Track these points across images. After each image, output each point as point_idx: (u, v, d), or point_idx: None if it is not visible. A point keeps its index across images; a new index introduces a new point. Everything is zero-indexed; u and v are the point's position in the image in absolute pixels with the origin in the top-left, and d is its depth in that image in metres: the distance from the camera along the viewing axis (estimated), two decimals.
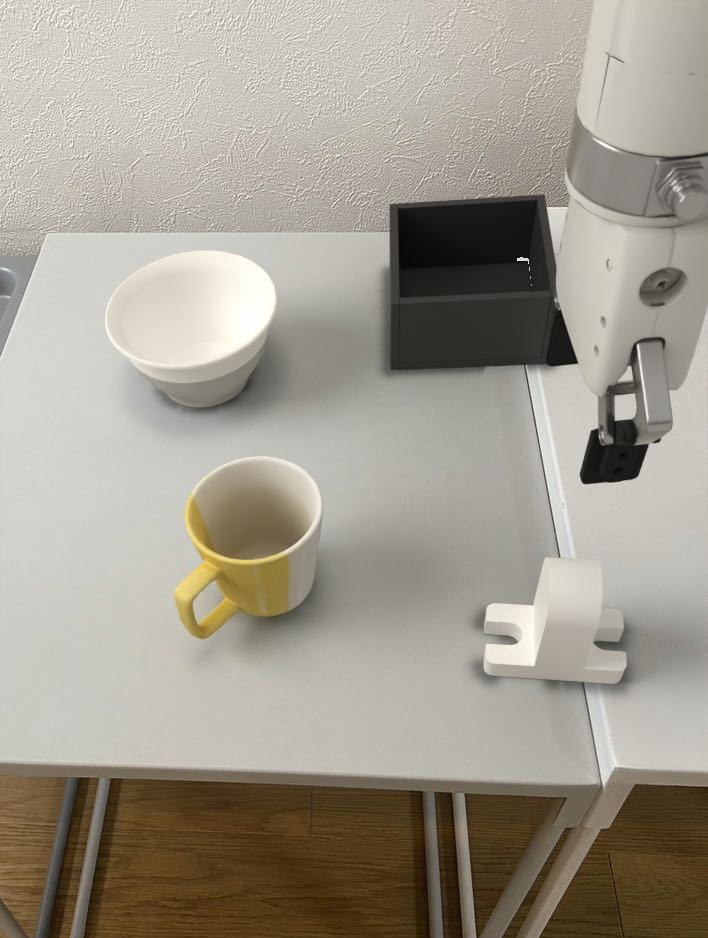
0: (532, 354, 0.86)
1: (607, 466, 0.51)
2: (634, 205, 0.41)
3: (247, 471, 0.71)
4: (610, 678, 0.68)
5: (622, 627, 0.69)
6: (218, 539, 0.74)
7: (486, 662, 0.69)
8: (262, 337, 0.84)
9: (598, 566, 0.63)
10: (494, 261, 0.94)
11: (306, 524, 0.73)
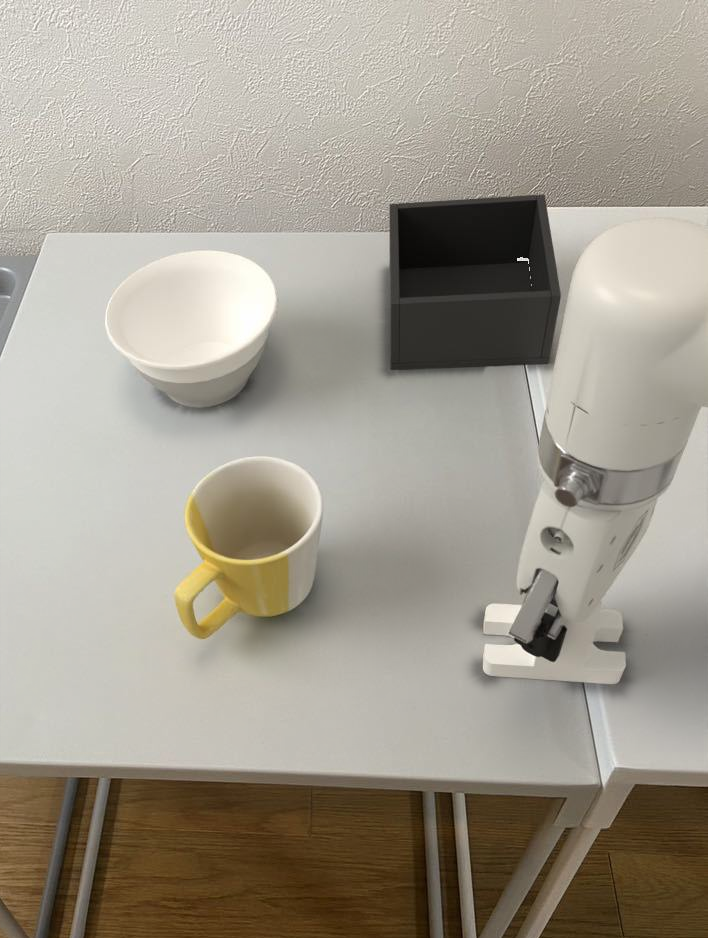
0: (532, 354, 0.86)
1: None
2: (551, 473, 0.51)
3: (247, 471, 0.71)
4: (609, 678, 0.68)
5: (621, 627, 0.69)
6: (218, 539, 0.74)
7: (485, 662, 0.69)
8: (262, 337, 0.84)
9: None
10: (494, 261, 0.94)
11: (306, 524, 0.73)
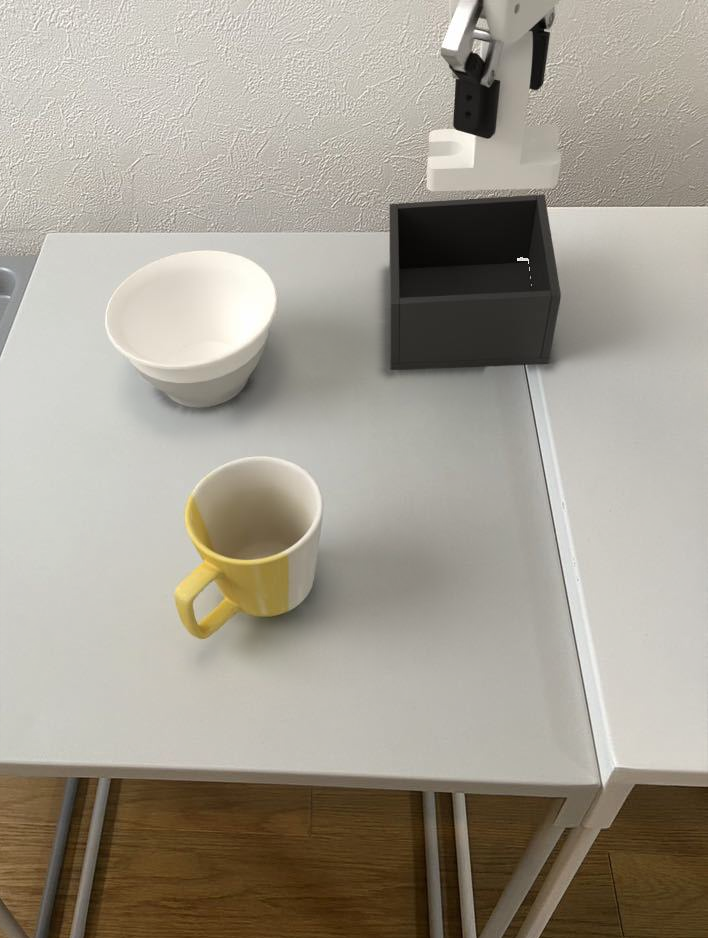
0: (532, 354, 0.86)
1: (460, 106, 0.66)
2: None
3: (247, 471, 0.71)
4: (546, 178, 0.71)
5: (558, 135, 0.71)
6: (218, 539, 0.74)
7: (428, 173, 0.72)
8: (262, 337, 0.84)
9: (529, 31, 0.65)
10: (494, 261, 0.94)
11: (306, 524, 0.73)
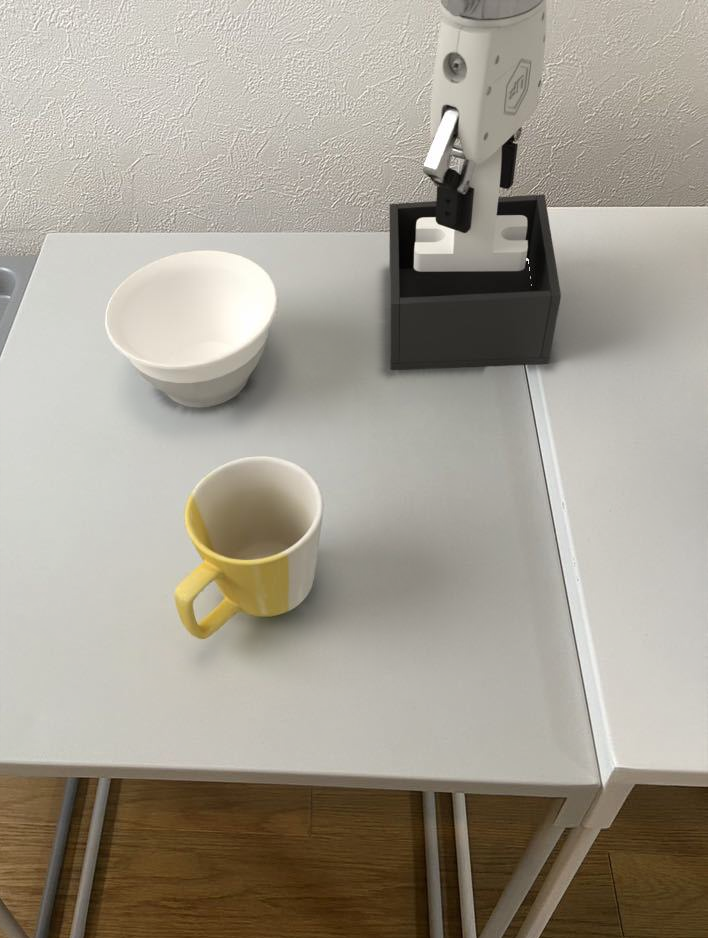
0: (532, 354, 0.86)
1: (441, 207, 0.78)
2: (448, 3, 0.67)
3: (247, 471, 0.71)
4: (515, 263, 0.83)
5: (526, 225, 0.84)
6: (218, 539, 0.74)
7: (414, 256, 0.84)
8: (262, 337, 0.84)
9: None
10: None
11: (306, 524, 0.73)
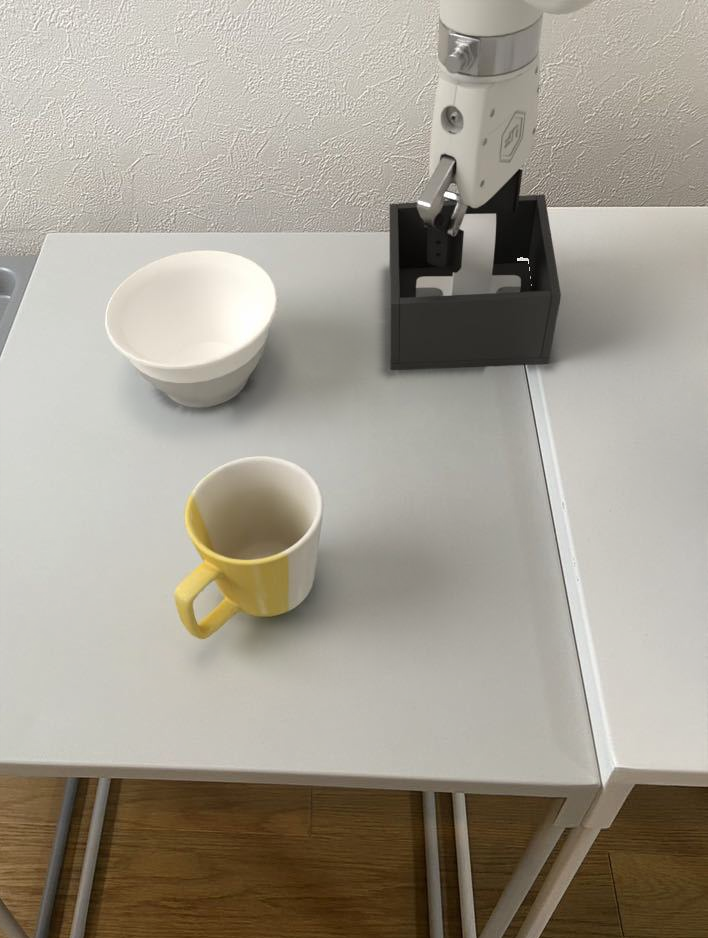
0: (532, 354, 0.86)
1: (432, 248, 0.80)
2: (445, 59, 0.70)
3: (247, 471, 0.71)
4: None
5: (519, 285, 0.89)
6: (218, 539, 0.74)
7: None
8: (262, 337, 0.84)
9: (493, 214, 0.83)
10: (494, 261, 0.94)
11: (306, 524, 0.73)
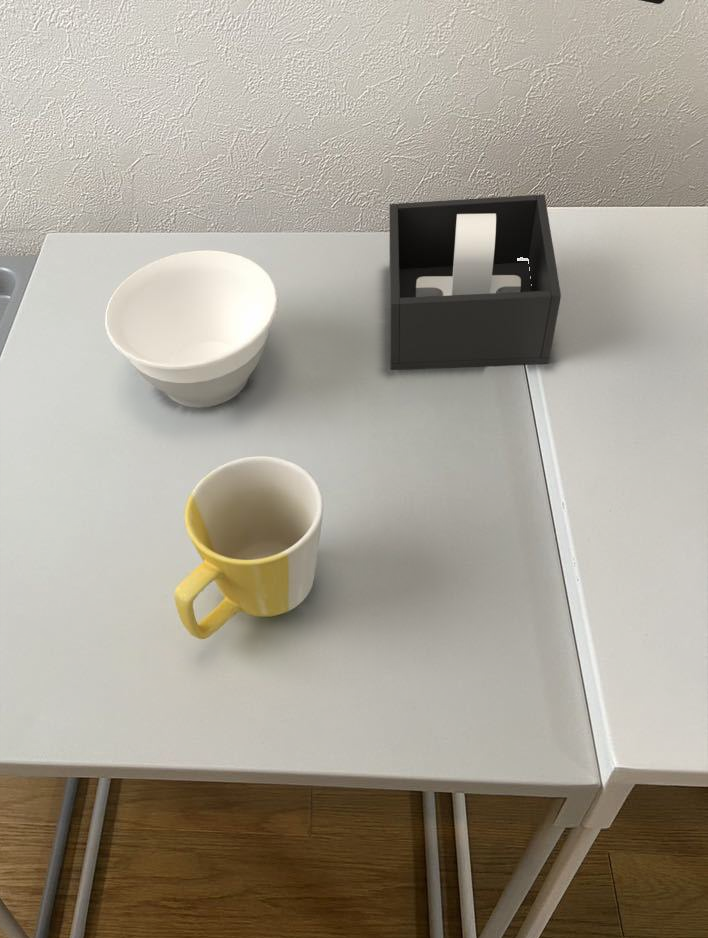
0: (532, 354, 0.86)
1: None
2: None
3: (247, 471, 0.71)
4: None
5: (519, 285, 0.89)
6: (218, 539, 0.74)
7: None
8: (262, 337, 0.84)
9: (493, 214, 0.83)
10: (494, 261, 0.94)
11: (306, 524, 0.73)
